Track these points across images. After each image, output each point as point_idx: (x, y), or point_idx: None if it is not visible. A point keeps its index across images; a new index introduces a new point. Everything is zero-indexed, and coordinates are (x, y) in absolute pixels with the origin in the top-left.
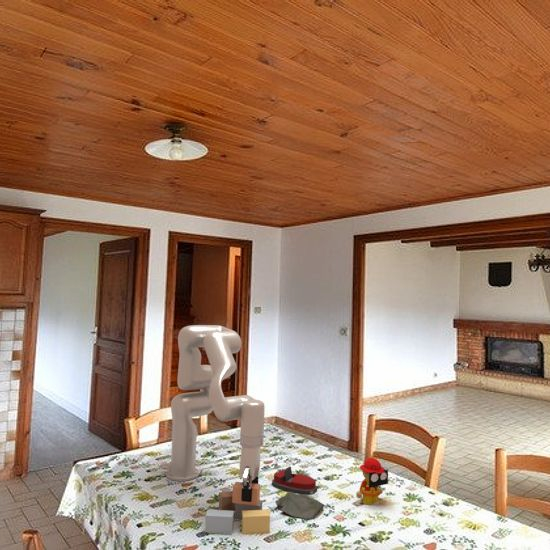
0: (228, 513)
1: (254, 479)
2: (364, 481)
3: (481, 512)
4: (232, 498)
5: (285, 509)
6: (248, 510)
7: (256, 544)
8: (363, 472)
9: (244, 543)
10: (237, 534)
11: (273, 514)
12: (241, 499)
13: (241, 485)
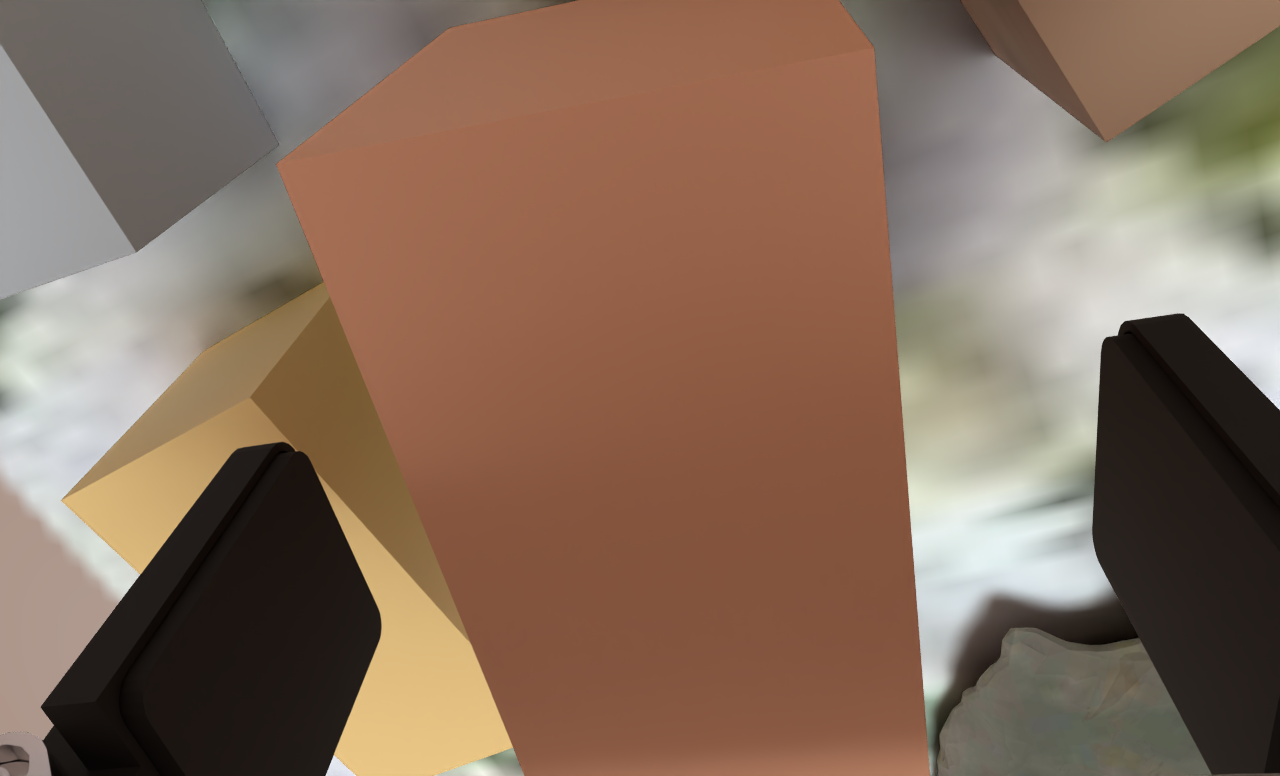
0: None
1: (1220, 692)
2: None
3: None
4: (421, 55)
5: (1004, 708)
6: (331, 496)
7: (114, 569)
8: None
9: (30, 452)
10: (143, 291)
11: (946, 529)
12: (230, 462)
13: (574, 433)
